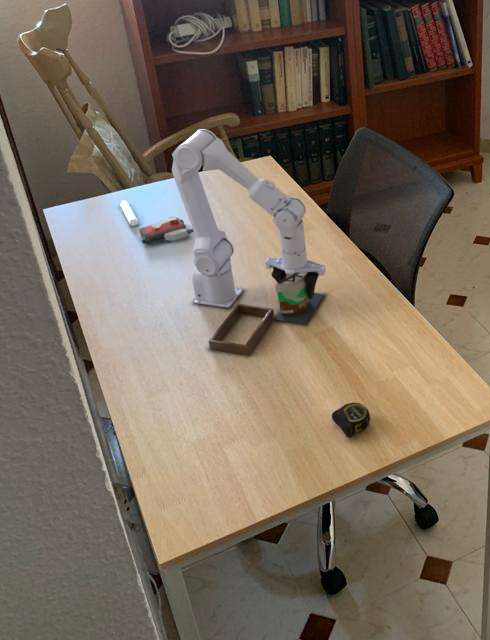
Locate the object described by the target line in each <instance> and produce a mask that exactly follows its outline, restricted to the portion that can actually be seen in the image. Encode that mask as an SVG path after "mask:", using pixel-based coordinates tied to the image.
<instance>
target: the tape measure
mask: <svg viewBox="0 0 490 640" xmlns="http://www.w3.org/2000/svg"><path fill="white" fill-rule="evenodd" d="M331 419H332V422H334V423H335V424H336V425H337V426H338V427H339V429H341V431H342V432H343V433H344V435H345V437H346V438H348V439H351V438H352V437H354V436H355V434H361V433H363V432H364V431H366V429H367V428H368V426H370V421H371V414H370V410H369V409H368V408H367V407H366V406H365V404H362V403H360V402H348V403H346V404H344V405H342V406H341V407H340V408H338V409H336V410H334V411H333V412H332V413H331Z"/></svg>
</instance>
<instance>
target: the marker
mask: <svg viewBox="0 0 490 640" xmlns="http://www.w3.org/2000/svg"><path fill="white" fill-rule="evenodd" d="M119 206H120V208H121V210H122V212H123V214H124V216H125V218H126V220H127V222H128V223H129V225H131V226H132V227H135V226H138V224H139V220H138V219H137V216H136V215H135V213H134V211H133V209H132V207H131V205H130V204H129V202H128V201H127V200H122V201H121V202H120V203H119Z"/></svg>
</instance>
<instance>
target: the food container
mask: <svg viewBox="0 0 490 640" xmlns="http://www.w3.org/2000/svg"><path fill="white" fill-rule="evenodd" d="M307 274H308V272H300V273H294V274H293V275H290V274H286V273H285V275H284V276H283V278H282V280H281V281H280V283H279V284H278V283H275V293H277V294H276V295H277V298H278V305H279V309H280V311H281V315H282V316H289V315H295V314H299V313H301V312H303V311H304V310H305V309H306V308H307V307H308V304H309V300H308V292H307V286H306V282H305V280H304V278H305V277H306V275H307Z"/></svg>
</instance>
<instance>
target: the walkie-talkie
mask: <svg viewBox="0 0 490 640" xmlns="http://www.w3.org/2000/svg"><path fill="white" fill-rule="evenodd" d="M138 230H139V235H140V238H141V239H142V240H141V243H142V244H143V245H154V244H157V243H161V242H164V241H177V240H180V239H183V238H188V237H189V235H190V234H192V233H194V231H193V228H187V225H186V224H185V222H184V220H183V219H180V218H179V217H176V216H171V217H168V218H163V219H161V220H160V221H158V222H157V223H156V222H155V223H151V224H150V225H149V224H148V225H146V226H142V227H140V228H139V229H138Z"/></svg>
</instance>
